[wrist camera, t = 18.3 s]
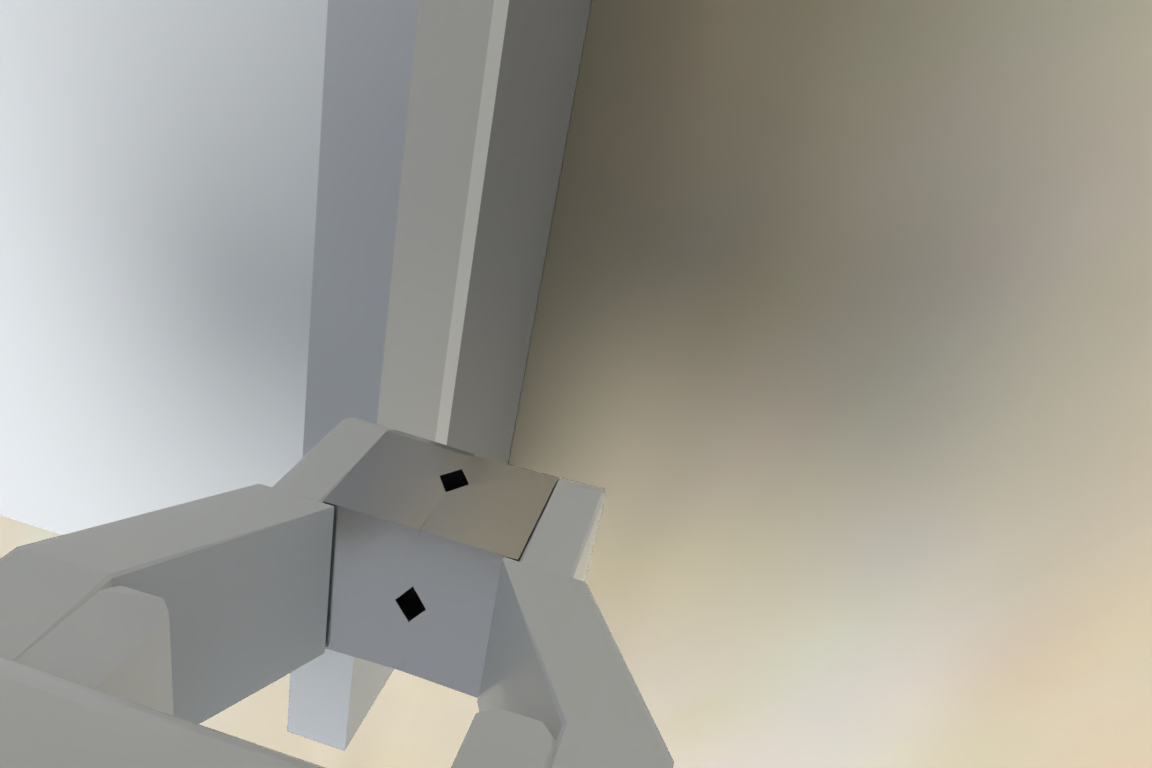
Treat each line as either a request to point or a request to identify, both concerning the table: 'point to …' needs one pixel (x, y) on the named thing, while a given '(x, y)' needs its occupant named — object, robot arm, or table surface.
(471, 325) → the housing
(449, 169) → the lid
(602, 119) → the table surface
